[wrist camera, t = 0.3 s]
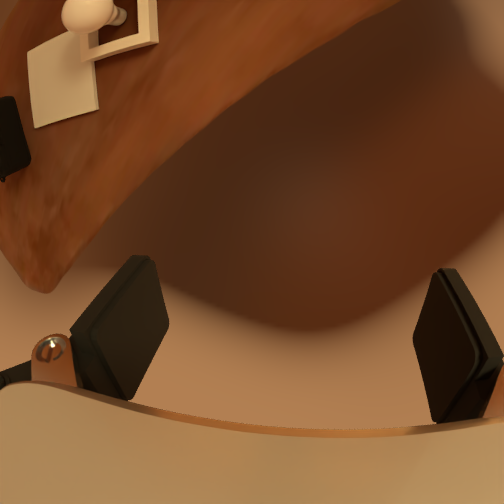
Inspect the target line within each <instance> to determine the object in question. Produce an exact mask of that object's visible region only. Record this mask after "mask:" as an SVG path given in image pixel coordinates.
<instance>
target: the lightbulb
mask: <svg viewBox="0 0 504 504" xmlns="http://www.w3.org/2000/svg"><path fill="white" fill-rule="evenodd" d="M126 17H127V12H126V10H125V9H122V8H119V7H116V6H115V5H114V3H113V0H67V1H66V2H65V4H64V6H63V8H62V12H61V19H62V23H63V25H64V26H65V28H66V29H67V30H69V31H70V32H72V33H75V34H88V33H92V32H94V31H96V30H98V29H100V28H101V27H102V26H104V25H108V24H109V25H115V26H118V25H121V24H122V23H123V22H124V21H125V19H126Z"/></svg>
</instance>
